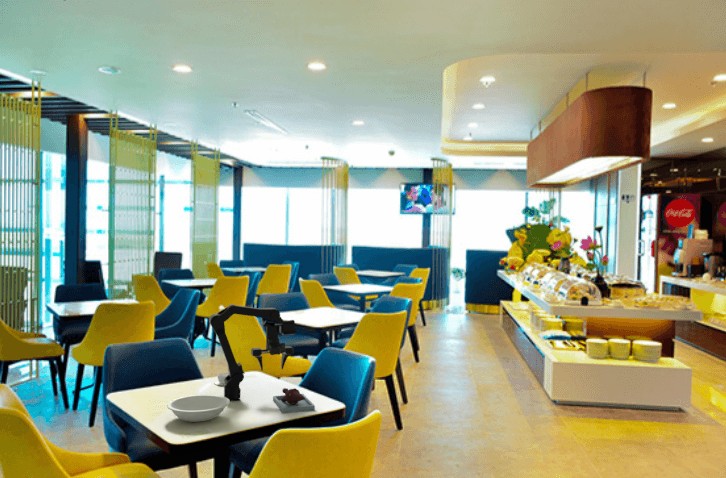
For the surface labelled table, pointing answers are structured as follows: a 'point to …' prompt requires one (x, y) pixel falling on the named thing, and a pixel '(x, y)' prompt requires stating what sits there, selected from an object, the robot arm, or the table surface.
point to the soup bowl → (198, 407)
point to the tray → (299, 407)
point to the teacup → (221, 378)
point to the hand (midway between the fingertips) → (272, 369)
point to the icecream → (292, 396)
